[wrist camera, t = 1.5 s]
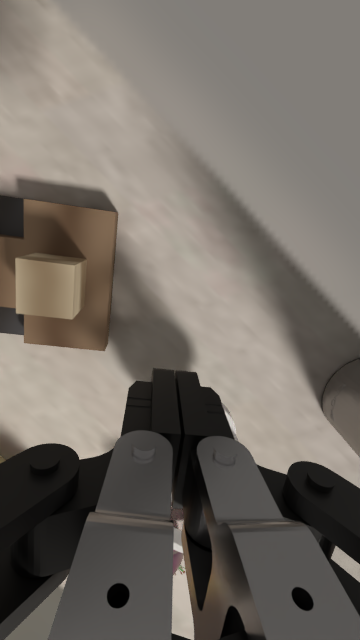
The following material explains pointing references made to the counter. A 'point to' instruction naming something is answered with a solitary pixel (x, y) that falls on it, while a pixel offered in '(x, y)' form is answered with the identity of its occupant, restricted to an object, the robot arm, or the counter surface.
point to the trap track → (63, 240)
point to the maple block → (50, 285)
